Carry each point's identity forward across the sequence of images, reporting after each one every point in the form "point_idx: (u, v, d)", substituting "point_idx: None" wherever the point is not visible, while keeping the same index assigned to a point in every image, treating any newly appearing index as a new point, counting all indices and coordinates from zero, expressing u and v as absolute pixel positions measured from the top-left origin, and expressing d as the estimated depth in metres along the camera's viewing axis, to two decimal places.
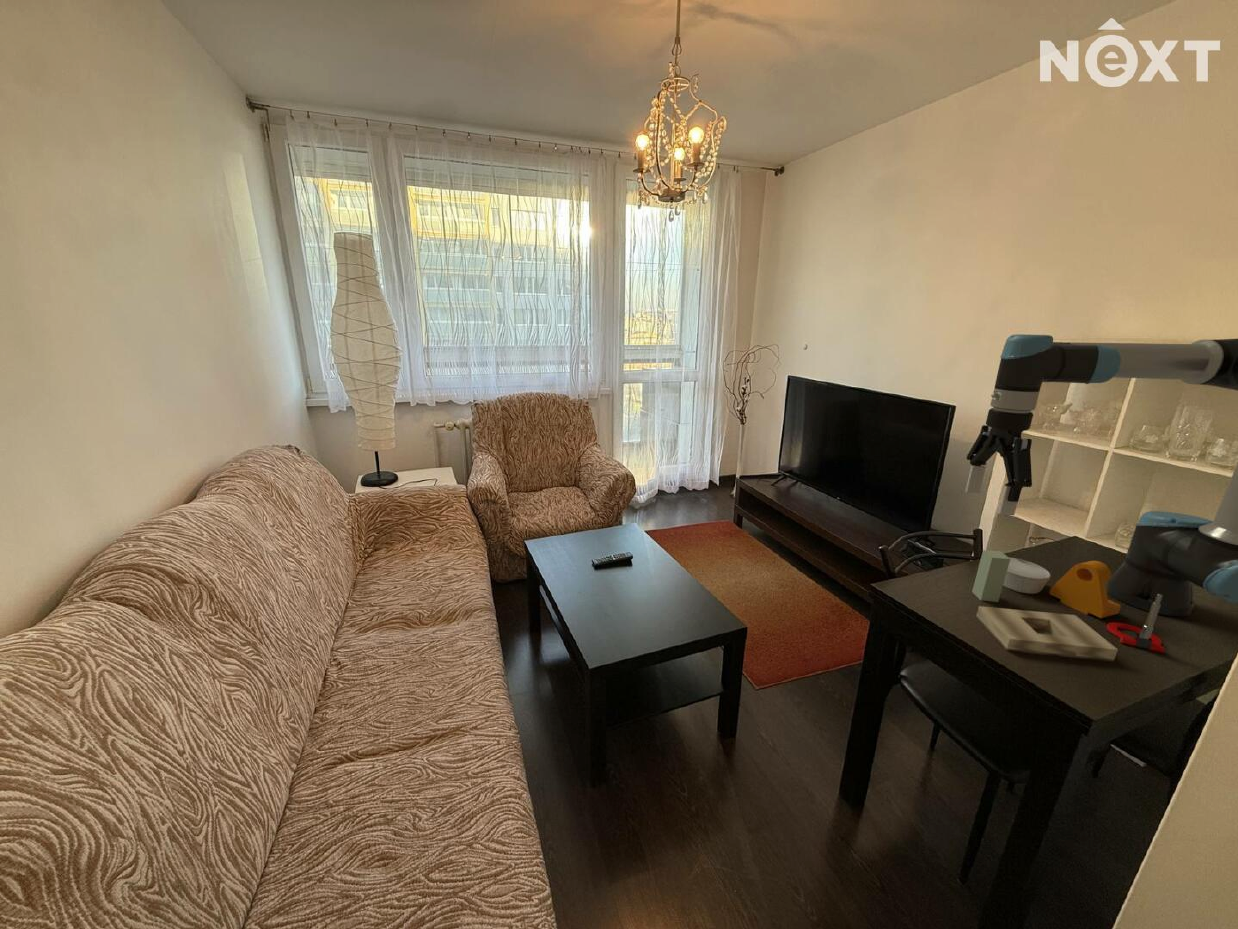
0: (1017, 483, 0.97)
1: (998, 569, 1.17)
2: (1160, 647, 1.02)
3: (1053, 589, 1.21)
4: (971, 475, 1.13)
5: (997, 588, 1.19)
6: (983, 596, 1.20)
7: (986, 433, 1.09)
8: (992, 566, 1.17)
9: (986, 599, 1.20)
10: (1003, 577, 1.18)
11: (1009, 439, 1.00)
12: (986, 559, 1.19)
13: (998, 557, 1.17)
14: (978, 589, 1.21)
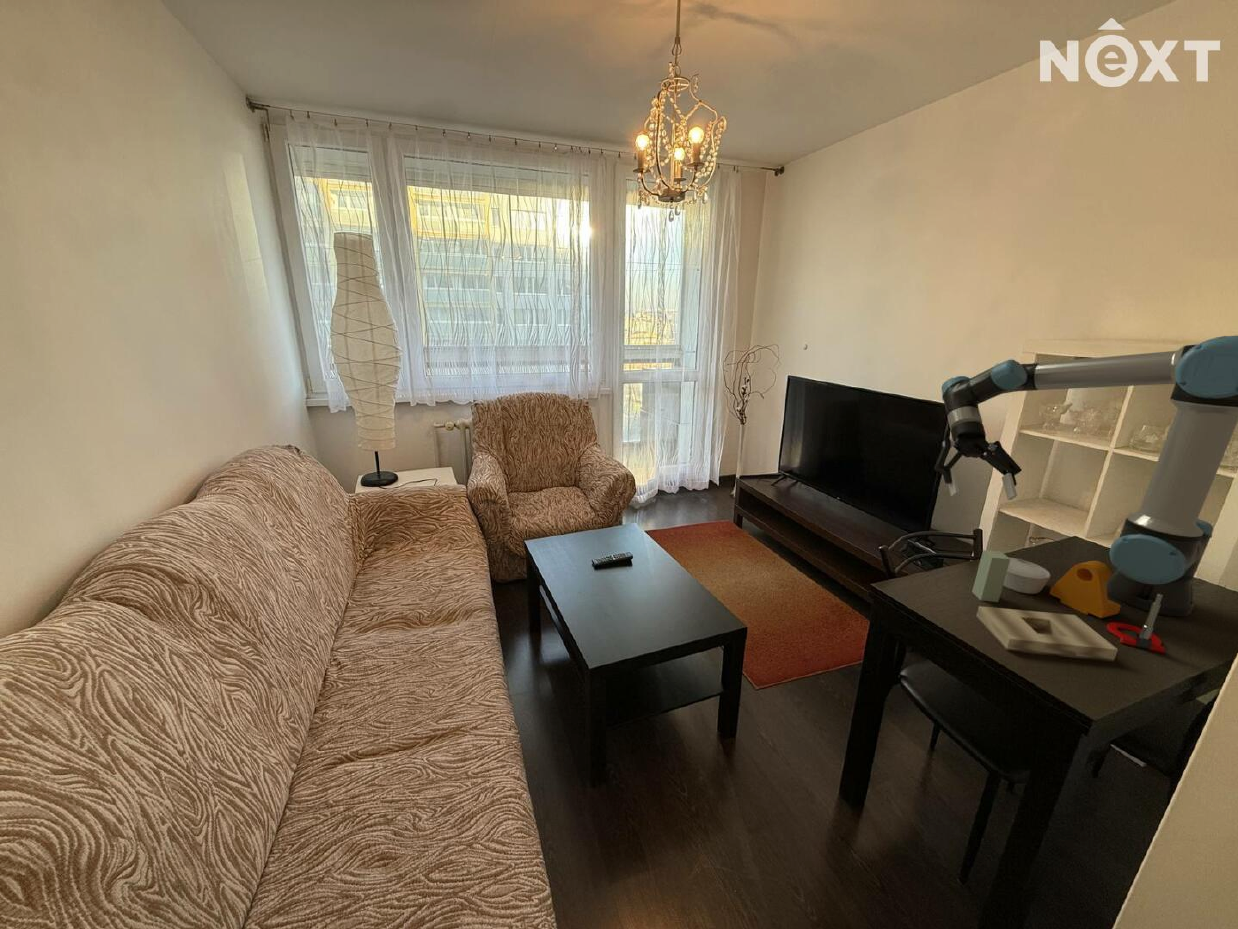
0: None
1: (998, 569, 1.17)
2: (1160, 647, 1.02)
3: (1053, 589, 1.21)
4: (1004, 484, 1.27)
5: (997, 588, 1.19)
6: (983, 596, 1.20)
7: None
8: (992, 566, 1.17)
9: (986, 599, 1.20)
10: (1003, 577, 1.18)
11: None
12: (986, 559, 1.19)
13: (998, 557, 1.17)
14: (978, 589, 1.21)
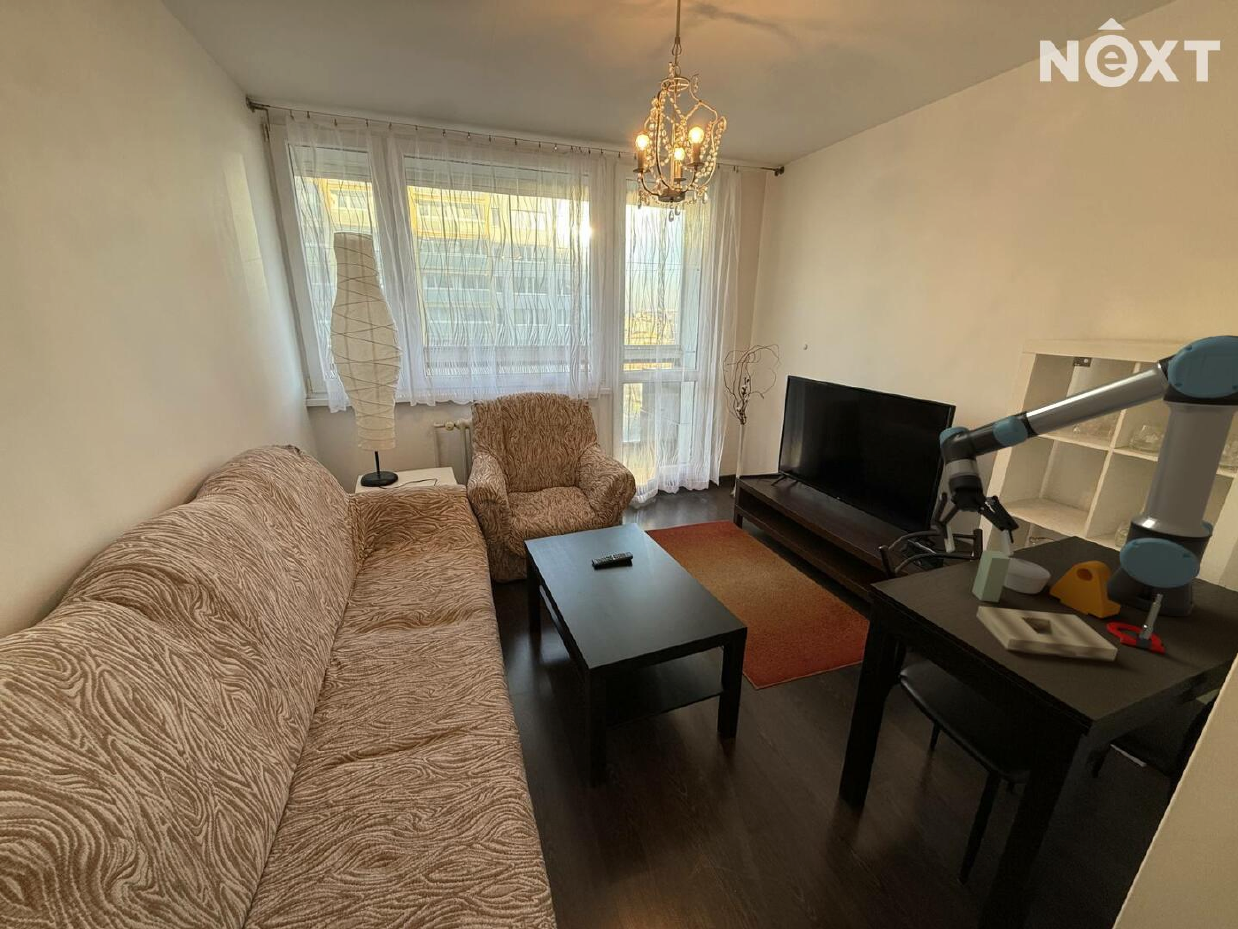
0: None
1: (998, 569, 1.17)
2: (1160, 647, 1.02)
3: (1053, 589, 1.21)
4: (1001, 541, 1.25)
5: (997, 588, 1.19)
6: (983, 596, 1.20)
7: (988, 503, 1.30)
8: (992, 566, 1.17)
9: (986, 599, 1.20)
10: (1003, 577, 1.18)
11: None
12: (986, 559, 1.19)
13: (998, 557, 1.17)
14: (978, 589, 1.21)
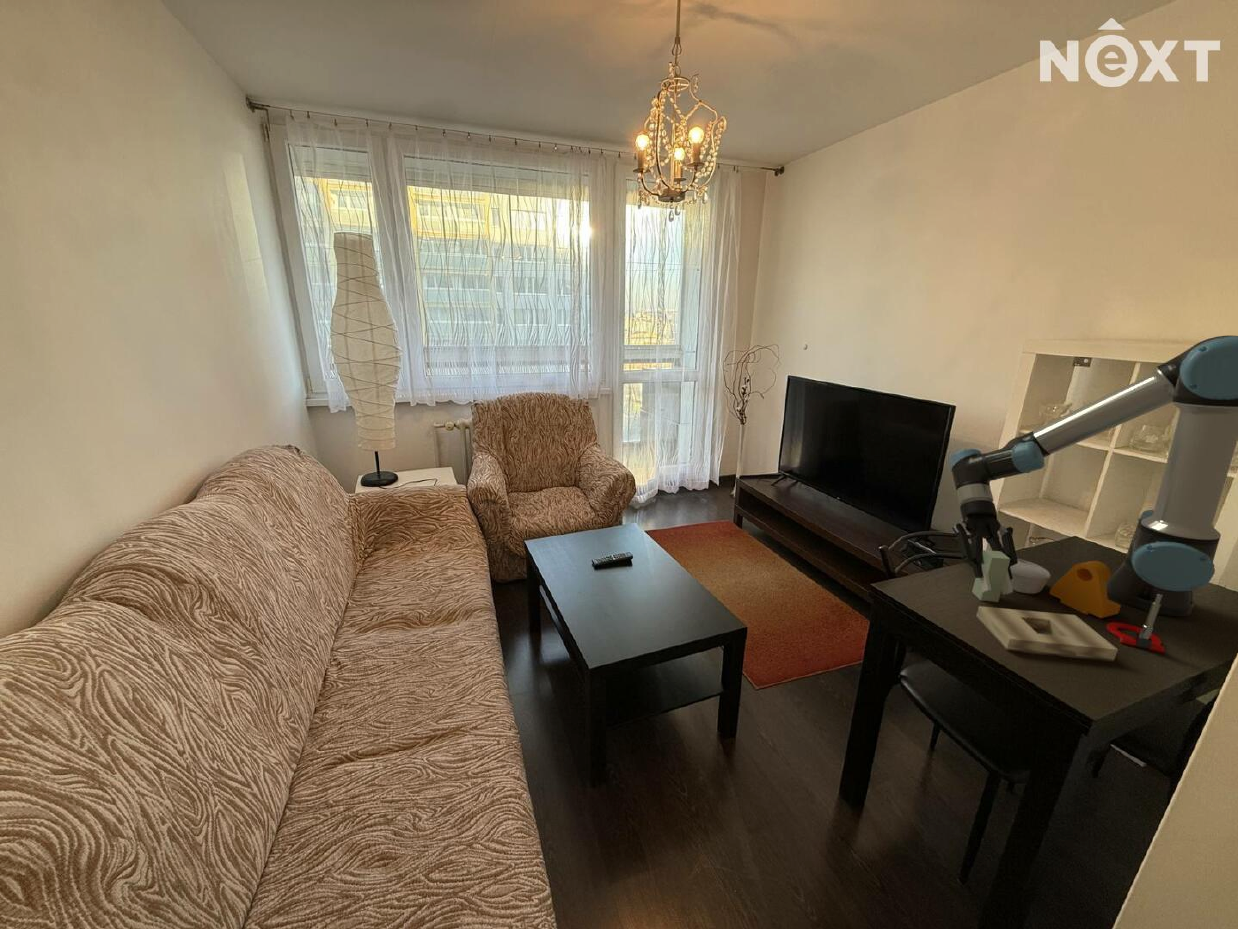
0: None
1: (998, 569, 1.17)
2: (1160, 647, 1.02)
3: (1053, 589, 1.21)
4: None
5: (997, 588, 1.19)
6: (983, 596, 1.20)
7: None
8: (992, 566, 1.17)
9: (986, 599, 1.20)
10: (1003, 577, 1.18)
11: None
12: (986, 559, 1.19)
13: (998, 557, 1.17)
14: (978, 589, 1.21)
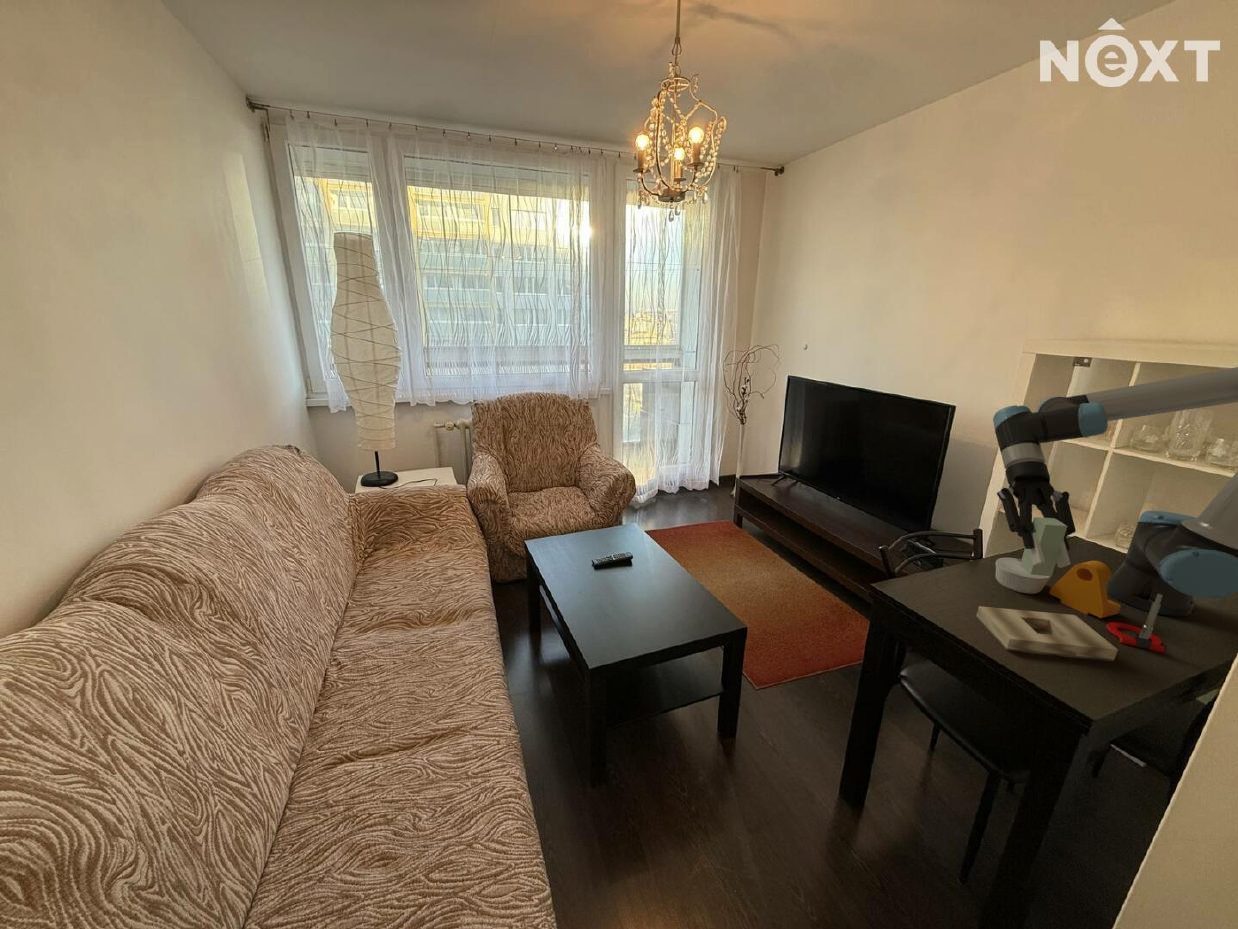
0: None
1: (1052, 538, 1.02)
2: (1160, 647, 1.02)
3: (1053, 589, 1.21)
4: None
5: (1051, 560, 1.03)
6: (1034, 570, 1.04)
7: None
8: (1045, 535, 1.02)
9: (1037, 573, 1.05)
10: (1058, 547, 1.02)
11: None
12: (1038, 527, 1.03)
13: (1052, 524, 1.01)
14: (1028, 562, 1.06)
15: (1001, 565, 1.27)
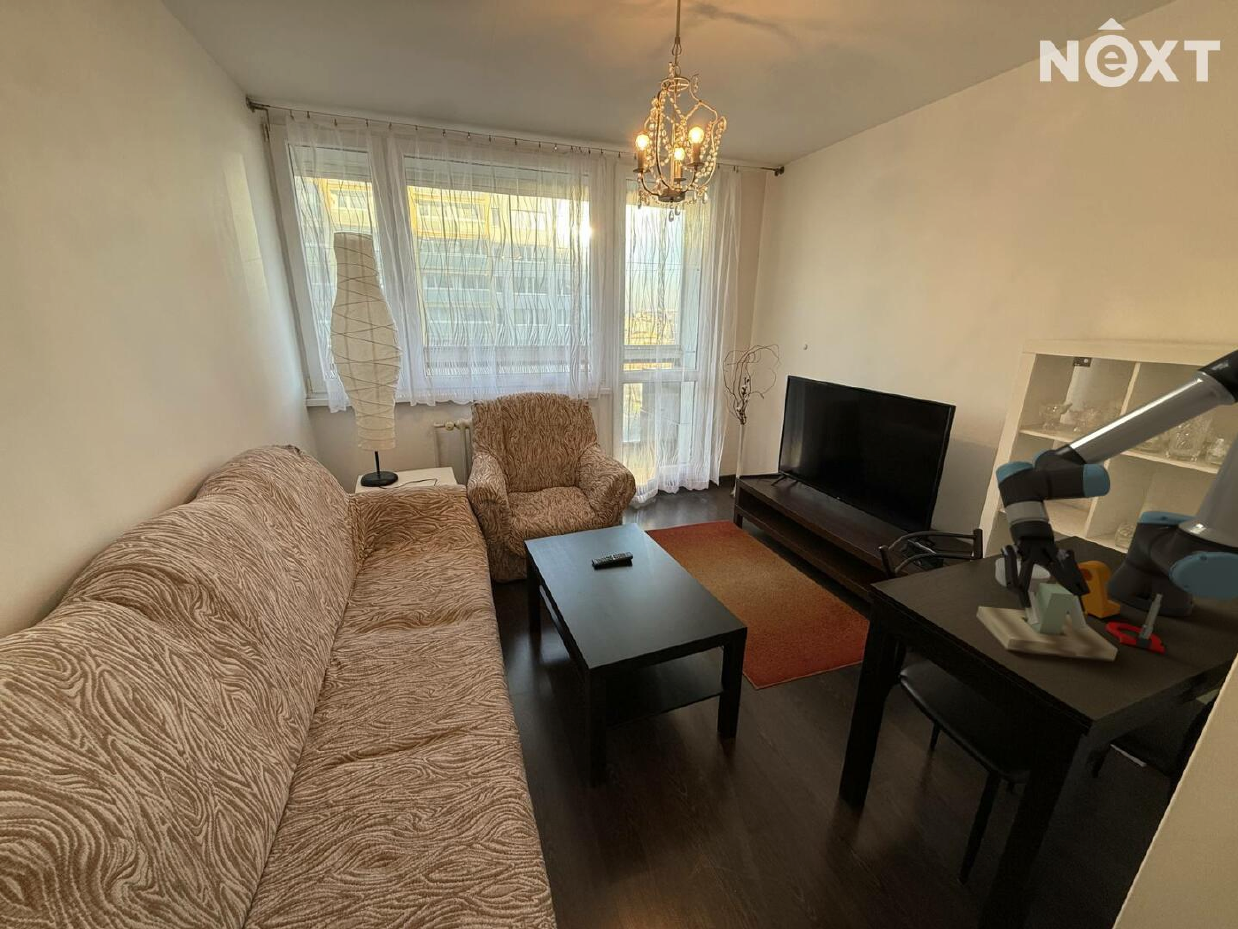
0: None
1: (1058, 606, 1.02)
2: (1160, 647, 1.02)
3: None
4: None
5: (1057, 627, 1.03)
6: None
7: None
8: (1051, 603, 1.02)
9: None
10: (1064, 615, 1.02)
11: None
12: (1044, 594, 1.03)
13: (1058, 592, 1.01)
14: (1033, 627, 1.06)
15: (1001, 565, 1.27)
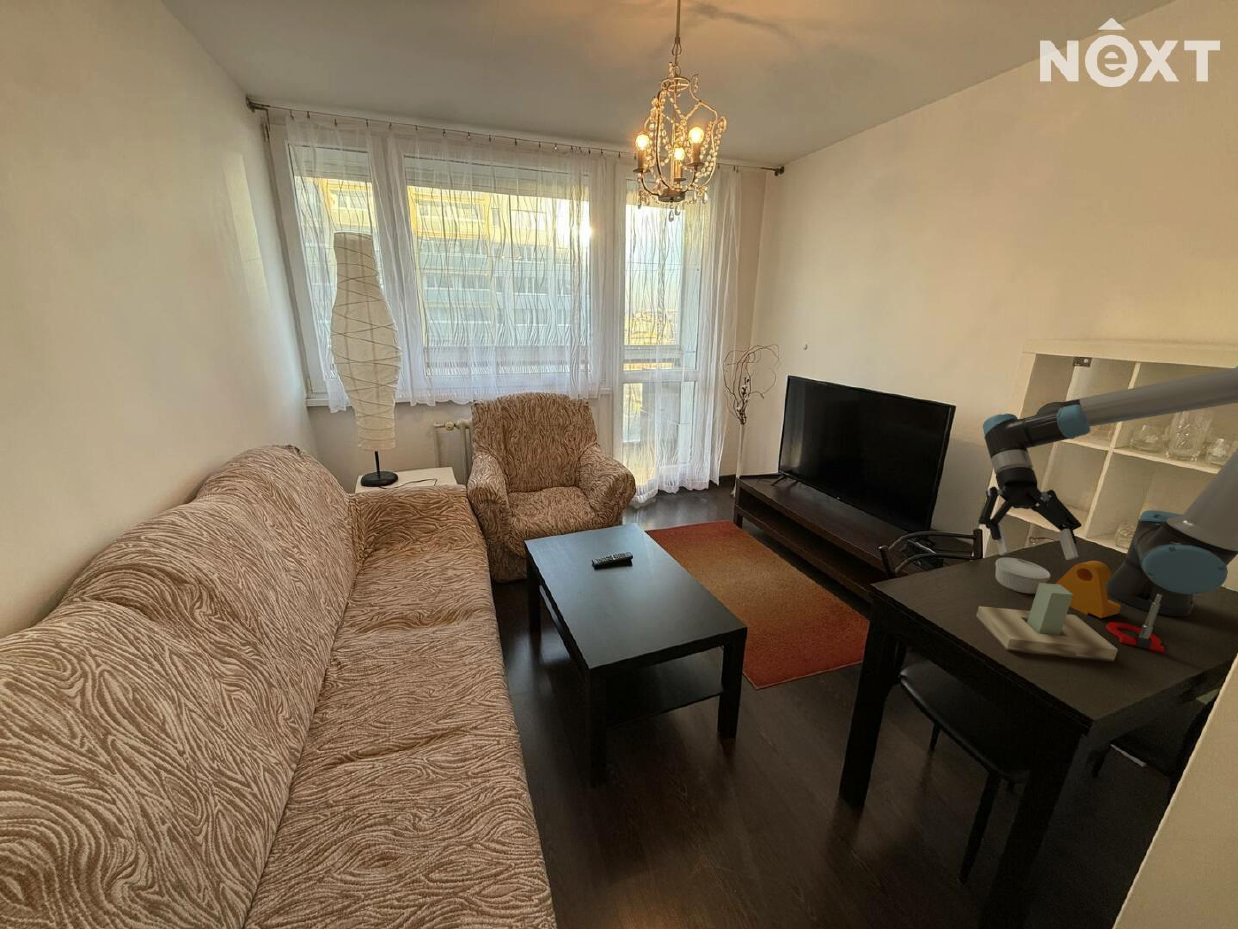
0: None
1: (1058, 606, 1.02)
2: (1159, 647, 1.02)
3: None
4: (1060, 541, 1.10)
5: (1057, 627, 1.03)
6: None
7: None
8: (1051, 603, 1.02)
9: None
10: (1064, 615, 1.02)
11: None
12: (1044, 594, 1.03)
13: (1058, 592, 1.01)
14: (1033, 627, 1.06)
15: (1001, 565, 1.27)
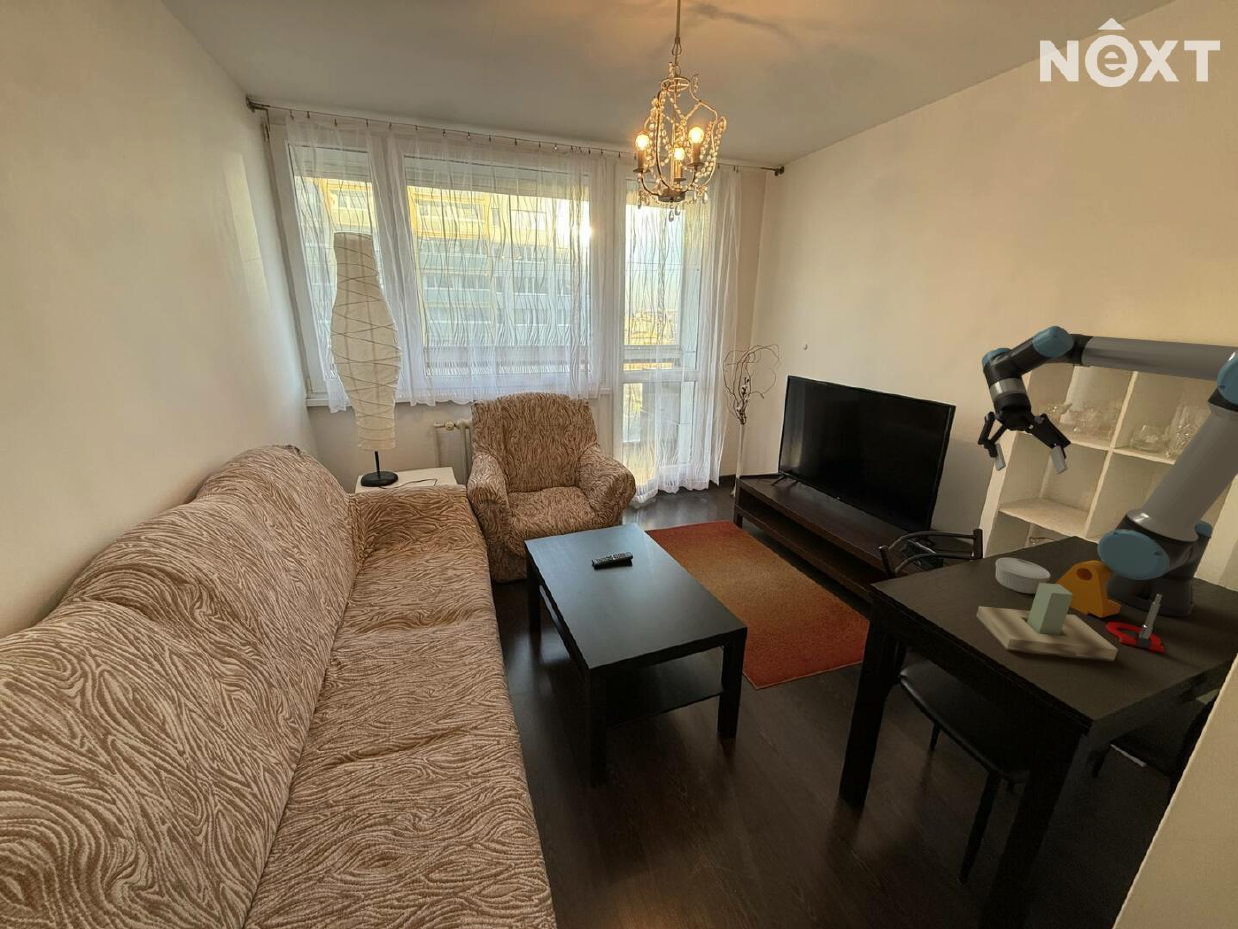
0: None
1: (1058, 606, 1.02)
2: (1159, 647, 1.02)
3: None
4: (1052, 458, 1.21)
5: (1057, 627, 1.03)
6: None
7: (1036, 422, 1.26)
8: (1051, 603, 1.02)
9: None
10: (1064, 615, 1.02)
11: None
12: (1044, 594, 1.03)
13: (1058, 592, 1.01)
14: (1033, 627, 1.06)
15: (1001, 565, 1.27)
